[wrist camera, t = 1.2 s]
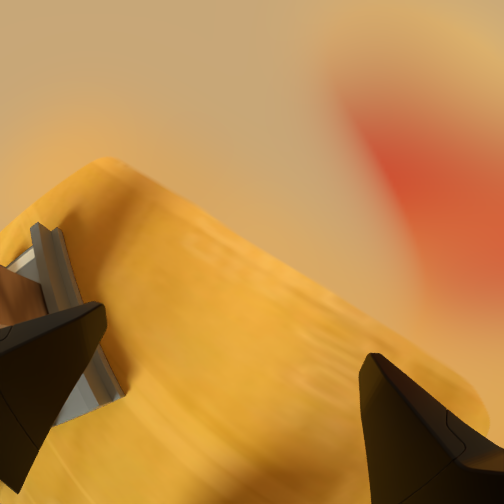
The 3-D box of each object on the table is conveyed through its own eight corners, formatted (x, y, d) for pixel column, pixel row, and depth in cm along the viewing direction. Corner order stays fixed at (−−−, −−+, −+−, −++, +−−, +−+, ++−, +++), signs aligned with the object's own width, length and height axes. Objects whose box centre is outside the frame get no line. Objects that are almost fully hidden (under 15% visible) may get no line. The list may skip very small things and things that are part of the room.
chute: (125, 396, 20) (107, 402, 17) (49, 428, 18) (29, 434, 15) (61, 230, 25) (44, 217, 22) (1, 277, 23) (-18, 269, 20)
